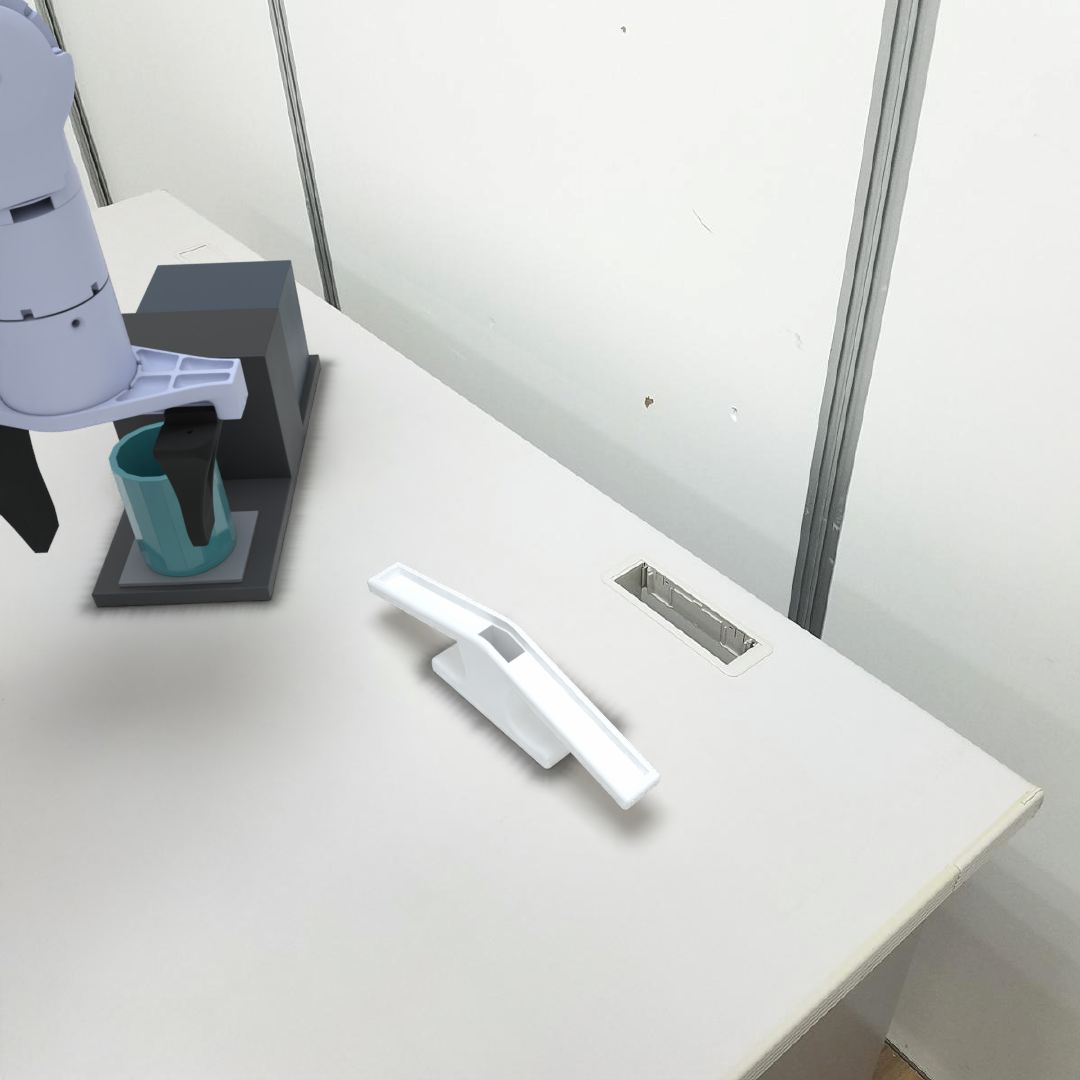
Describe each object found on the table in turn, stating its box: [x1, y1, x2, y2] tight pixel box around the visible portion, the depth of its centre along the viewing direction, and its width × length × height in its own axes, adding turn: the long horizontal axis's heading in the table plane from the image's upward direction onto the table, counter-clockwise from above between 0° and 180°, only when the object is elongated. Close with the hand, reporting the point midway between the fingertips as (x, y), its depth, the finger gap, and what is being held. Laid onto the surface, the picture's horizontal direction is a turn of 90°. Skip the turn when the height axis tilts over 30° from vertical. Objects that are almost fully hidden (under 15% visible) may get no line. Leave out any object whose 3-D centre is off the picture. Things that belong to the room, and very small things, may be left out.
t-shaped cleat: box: [366, 561, 662, 811], centre depth 57 cm, size 4×20×5 cm, turn 42°
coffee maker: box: [91, 259, 322, 607], centre depth 71 cm, size 24×10×10 cm, turn 2°
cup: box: [108, 422, 236, 577], centre depth 65 cm, size 5×5×7 cm
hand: (125, 536), depth 56 cm, fingers open, 7 cm apart
